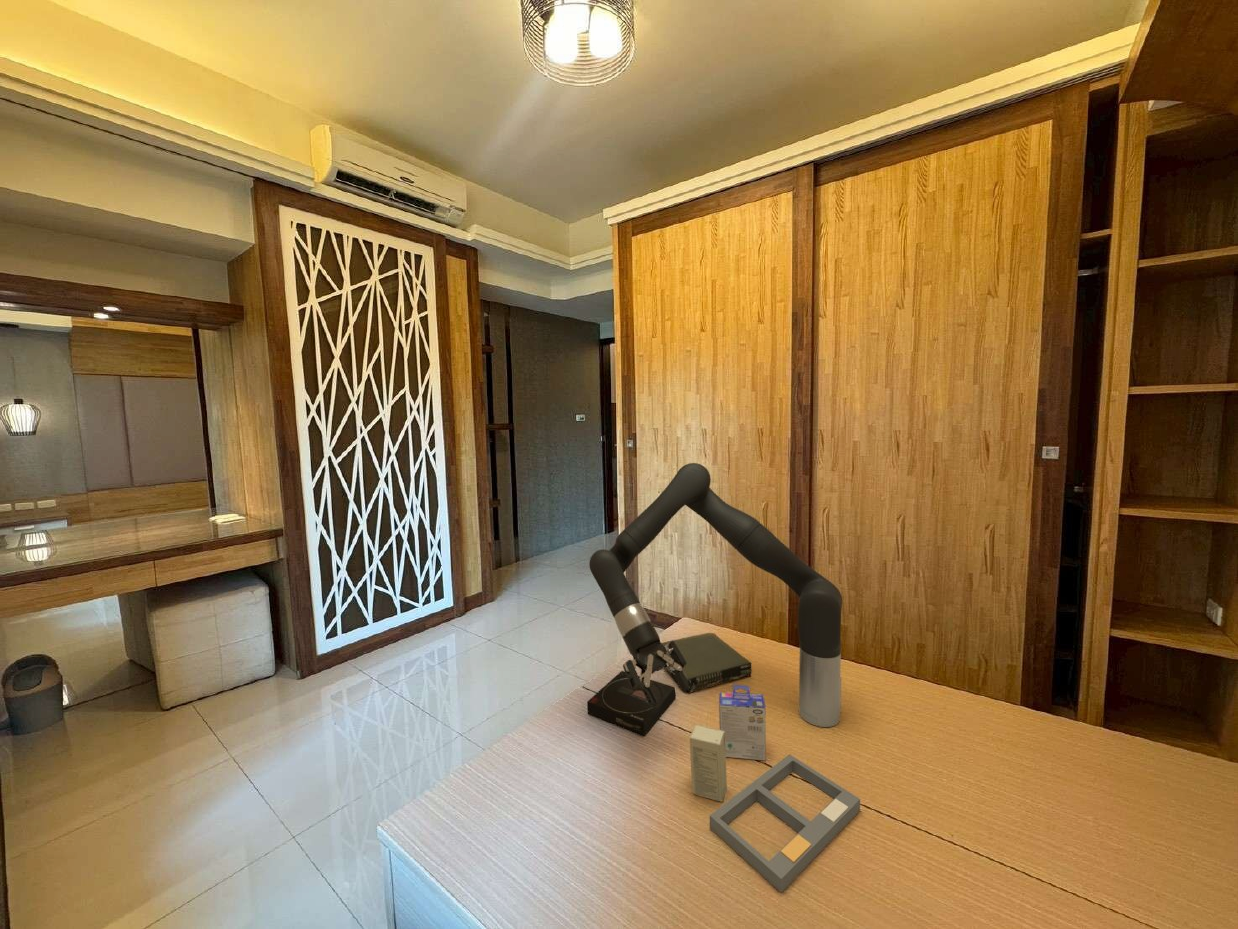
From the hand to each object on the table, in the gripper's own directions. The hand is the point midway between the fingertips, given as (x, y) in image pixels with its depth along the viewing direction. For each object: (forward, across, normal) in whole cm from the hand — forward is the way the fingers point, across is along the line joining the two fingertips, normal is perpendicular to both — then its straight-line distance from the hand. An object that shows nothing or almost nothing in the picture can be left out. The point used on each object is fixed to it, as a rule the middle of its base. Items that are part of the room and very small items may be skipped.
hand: (671, 698), depth 102 cm
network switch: (-5, -32, -27) cm, 42 cm away
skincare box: (+18, 0, -3) cm, 18 cm away
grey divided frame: (+27, -6, +7) cm, 29 cm away
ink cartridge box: (+16, -14, -5) cm, 22 cm away
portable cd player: (-4, -5, -25) cm, 26 cm away
